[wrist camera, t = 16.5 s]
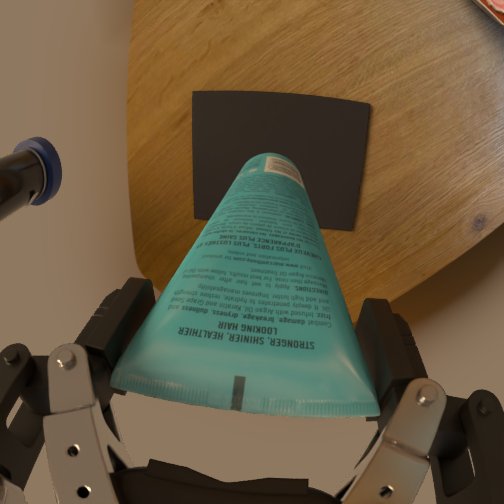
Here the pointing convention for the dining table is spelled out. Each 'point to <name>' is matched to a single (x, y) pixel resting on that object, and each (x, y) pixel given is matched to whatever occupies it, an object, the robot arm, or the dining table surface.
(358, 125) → the mat
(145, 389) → the tube
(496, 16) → the ramen bowl
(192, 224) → the dining table surface
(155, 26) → the dining table surface
